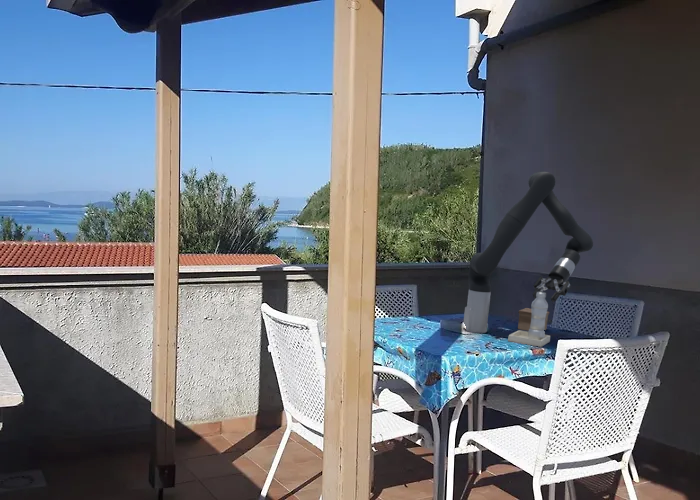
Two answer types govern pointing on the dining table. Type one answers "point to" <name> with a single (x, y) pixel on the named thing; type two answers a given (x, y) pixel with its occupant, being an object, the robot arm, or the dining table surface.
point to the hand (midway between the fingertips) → (543, 298)
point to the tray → (527, 339)
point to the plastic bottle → (538, 317)
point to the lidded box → (527, 319)
